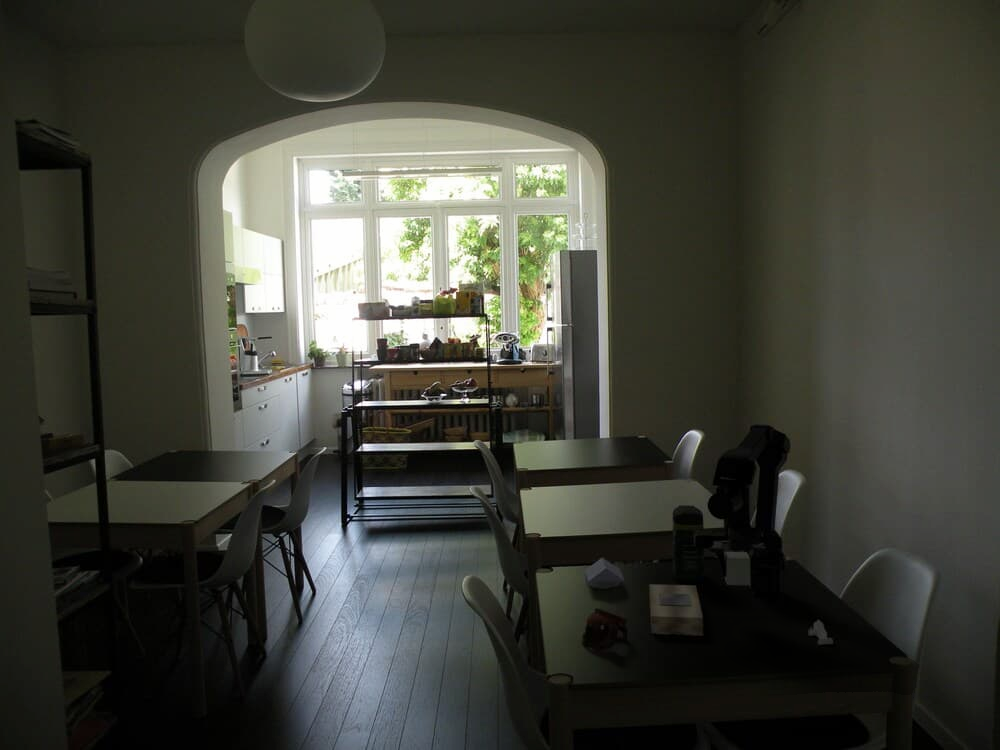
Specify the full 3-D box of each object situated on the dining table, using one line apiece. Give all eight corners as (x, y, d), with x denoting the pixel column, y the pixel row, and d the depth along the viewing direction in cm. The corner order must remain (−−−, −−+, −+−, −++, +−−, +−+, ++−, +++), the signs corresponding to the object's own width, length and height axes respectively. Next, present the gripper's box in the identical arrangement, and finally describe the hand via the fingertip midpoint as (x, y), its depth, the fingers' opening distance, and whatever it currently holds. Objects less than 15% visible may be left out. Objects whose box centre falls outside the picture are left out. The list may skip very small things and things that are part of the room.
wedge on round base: (624, 593, 199) (617, 576, 212) (624, 567, 199) (617, 551, 212) (588, 594, 200) (584, 577, 212) (587, 568, 199) (583, 552, 212)
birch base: (695, 601, 192) (695, 584, 192) (703, 635, 173) (703, 616, 172) (649, 600, 194) (649, 583, 194) (651, 633, 175) (651, 615, 174)
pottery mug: (573, 640, 174) (585, 603, 176) (611, 655, 175) (623, 619, 177) (591, 648, 162) (604, 609, 165) (632, 664, 164) (644, 625, 166)
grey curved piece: (844, 647, 166) (844, 626, 165) (812, 649, 165) (812, 628, 165) (812, 619, 181) (812, 600, 180) (784, 621, 180) (783, 602, 180)
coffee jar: (706, 583, 205) (705, 512, 203) (674, 582, 206) (673, 512, 204) (701, 570, 214) (700, 502, 213) (671, 570, 215) (670, 502, 214)
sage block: (747, 577, 182) (746, 552, 182) (750, 585, 177) (750, 559, 177) (724, 577, 183) (724, 551, 183) (727, 584, 178) (726, 558, 178)
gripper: (696, 518, 173) (697, 588, 174) (786, 519, 169) (787, 590, 171) (693, 505, 183) (693, 571, 185) (777, 506, 180) (777, 573, 182)
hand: (737, 576), depth 180 cm, fingers closed on sage block, 5 cm apart
